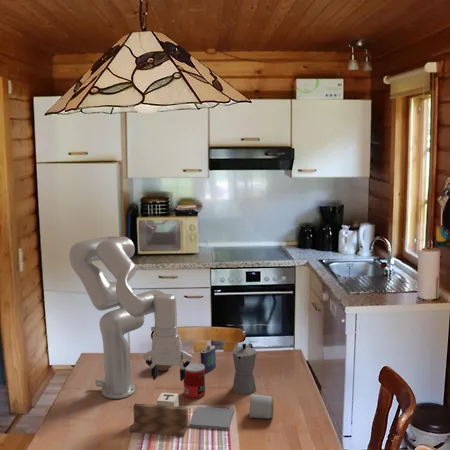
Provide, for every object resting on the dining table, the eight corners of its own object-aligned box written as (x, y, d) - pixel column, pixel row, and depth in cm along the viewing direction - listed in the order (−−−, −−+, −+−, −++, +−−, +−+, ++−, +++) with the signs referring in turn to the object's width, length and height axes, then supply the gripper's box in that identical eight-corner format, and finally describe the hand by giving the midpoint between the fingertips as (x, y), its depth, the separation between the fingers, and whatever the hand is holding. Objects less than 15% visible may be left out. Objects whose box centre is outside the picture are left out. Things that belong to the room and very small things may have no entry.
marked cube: (157, 416, 188) (156, 400, 187) (162, 408, 193) (161, 392, 192) (174, 418, 187) (174, 401, 186) (178, 409, 192) (178, 393, 191)
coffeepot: (250, 398, 200) (250, 351, 197) (226, 394, 203) (226, 348, 200) (263, 381, 214) (263, 337, 211) (240, 377, 217) (240, 334, 214)
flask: (212, 365, 229) (211, 340, 228) (218, 366, 228) (217, 342, 226) (199, 373, 222) (199, 348, 220) (205, 374, 220) (205, 349, 218)
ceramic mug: (273, 422, 183) (273, 401, 182) (249, 421, 184) (249, 400, 182) (273, 407, 193) (273, 387, 192) (250, 407, 194) (250, 386, 193)
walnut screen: (130, 431, 178) (129, 411, 177) (135, 423, 183) (135, 403, 182) (184, 436, 175) (183, 415, 174) (188, 427, 180) (187, 407, 179)
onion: (164, 379, 223) (162, 363, 217) (147, 369, 227) (145, 353, 221) (179, 364, 229) (178, 348, 223) (161, 354, 234) (160, 338, 228)
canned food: (202, 400, 199) (202, 371, 197) (181, 398, 201) (180, 369, 199) (207, 390, 206) (206, 363, 205) (187, 388, 208) (186, 361, 206)
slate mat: (189, 426, 181) (189, 424, 180) (197, 409, 192) (197, 406, 192) (228, 430, 178) (228, 427, 178) (233, 411, 190) (233, 409, 190)
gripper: (138, 333, 183) (141, 382, 185) (188, 335, 180) (190, 384, 182) (145, 326, 190) (147, 373, 193) (193, 327, 187) (195, 375, 190)
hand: (168, 378), depth 187 cm, fingers open, 9 cm apart
